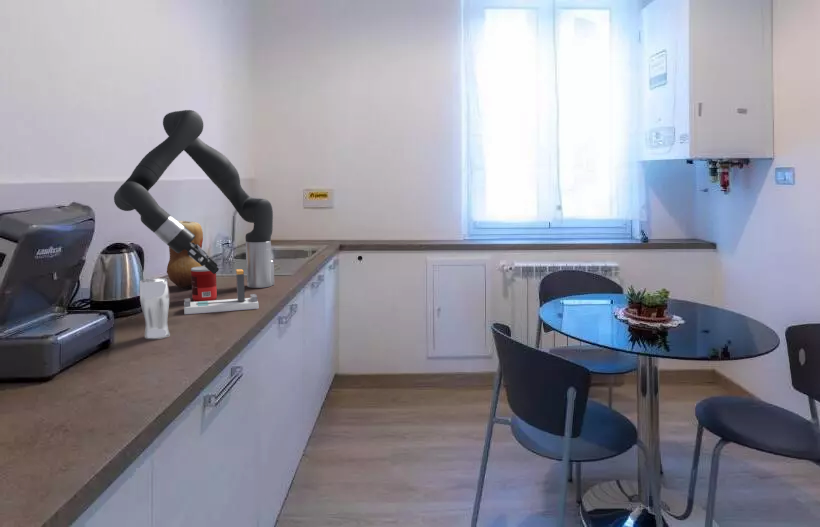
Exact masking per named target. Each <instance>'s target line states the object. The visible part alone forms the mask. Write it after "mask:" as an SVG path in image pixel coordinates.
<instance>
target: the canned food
mask: <svg viewBox="0 0 820 527" xmlns="http://www.w3.org/2000/svg"><path fill="white" fill-rule="evenodd" d="M191 281H192V287H191V294H192V296H191V298H192V300H193V301H192V302H199V301H213V300H217V297H218V291H217V290H218V289H217V288H218V286H217V272H216V273H215V274H213V273H212V272H211V271H210V270H208V269H207V268H206V267H204V266H200V267H194V268H191Z"/></svg>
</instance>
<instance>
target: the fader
mask: <svg viewBox="0 0 820 527" xmlns="http://www.w3.org/2000/svg"><path fill="white" fill-rule="evenodd" d="M243 269H244V268H243ZM243 269H241V268H239V269H238V268H237V269H235V277H236V279H235V280H236V299H237V300H238V302H241V301H245V298H246V297H245V293H246V292H245V274H244V272H245V271H244V270H243Z"/></svg>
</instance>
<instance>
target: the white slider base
mask: <svg viewBox="0 0 820 527" xmlns="http://www.w3.org/2000/svg"><path fill="white" fill-rule="evenodd" d="M249 296H250V297H245V301H241V302H238V300H237V298H228V299H216V300H213V301H199V302H195V301H191V298H184V302H183V310H184V315H194V314H206V313H220V312H230V311H243V310H244V311H246V310H259V309H260V308H259V307H260V305H259V301H258V296H257V293H250V294H249Z"/></svg>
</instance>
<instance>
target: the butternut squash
mask: <svg viewBox="0 0 820 527" xmlns="http://www.w3.org/2000/svg"><path fill="white" fill-rule="evenodd" d="M178 221H179V222H180V223H181V224H182V225H184V226H185V227H186V228H187V229H188V230H189V231H191V232H192V233H193V234H194V235H195V238H194V239H193V240H192V241H191V243H192V242H193V243H195V245H196V244H197V245H199V246H200V247H201V249H202V250H203V241H204V234H203V233H204V232H203V228H202V225H201V224H200V223H199V222H196V221H186V220H178ZM168 250H169V261H168V263H167V267H166V274H167V276H168V279H169V280H170V281H171V282H172V283H173V284H174V285H175V286H177V287H178V288H179V289H186V288H192V281H191V268H194V267H200V266H201V265H200V264H199V263H198V262H196V261H195V260H194V259H193V258H191V257H190V256H189V255H188V253H187V252H188V251H186V250H185V249H184V250H183V251H182V252H180V253H176V252H175V251H174V250H173V249H172V248H170V247H169V246H168ZM201 262H202V261H201Z"/></svg>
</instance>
